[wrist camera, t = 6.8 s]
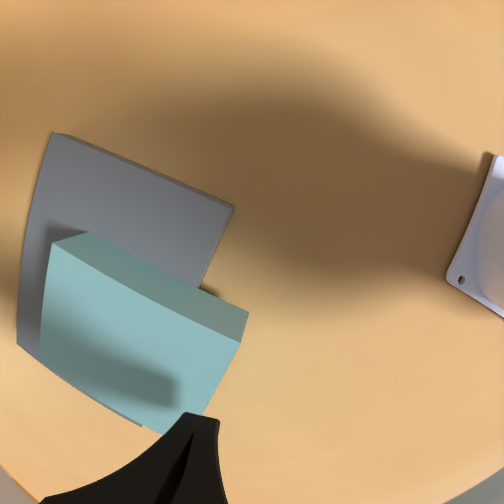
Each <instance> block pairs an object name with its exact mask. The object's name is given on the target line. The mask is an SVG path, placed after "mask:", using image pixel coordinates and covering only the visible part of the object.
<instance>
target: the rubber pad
mask: <svg viewBox="0 0 504 504" xmlns="http://www.w3.org/2000/svg"><path fill="white" fill-rule="evenodd" d="M234 208H235V206H233V205H231V204H229V203H226V202H224V201H222V200H220V199H218V198H215V197H213V196H211V195H209V194H207V193H204V192H202V191H200V190H198V189H195V188H193V187H191V186H189V185H186V184H184V183H182V182H180V181H177V180H175V179H173V178H170V177H168V176H166V175H164V174H161V173H159V172H157V171H154V170H152V169H150V168H147V167H145V166H143V165H140V164H138V163H136V162H133V161H131V160H128V159H126V158H124V157H121V156H119V155H117V154H114V153H112V152H109V151H107V150H104V149H102V148H100V147H97V146H95V145H92V144H90V143H87V142H85V141H82V140H80V139H77V138H75V137H72V136H70V135H66V134H60V133H54V132H52V135H51V138H50V141H49V144H48V147H47V150H46V153H45V156H44V159H43V163H42V166H41V170H40V173H39V177H38V181H37V184H36V188H35V192H34V197H33V201H32V205H31V210H30V215H29V220H28V225H27V230H26V236H25V242H24V248H23V255H22V263H21V271H20V281H19V292H18V308H17V344H18V345H19V346H20V347H21V348H23V349H24V350H25V351H26V352H27V353H29V354H30V355H31V356H32V357H34V358H35V359H36V360H37V361H39V362H40V363H41V364H43V365H44V366H45V367H46V368H48V369H49V370H50V371H52V372H53V373H55V374H56V375H57V376H59V377H60V378H62V379H63V380H64V381H66V382H67V383H69V384H70V385H72V386H73V387H75V388H76V389H78V390H79V391H81V392H82V393H84V394H85V395H87V396H88V397H90V398H91V399H93V400H95V401H96V402H98V403H99V404H101V405H103V406H104V407H106V408H108V409H109V410H111V411H113V412H115V413H116V414H118V415H120V416H122V417H124V418H125V419H127V420H129V421H131V422H133V423H135V424H136V425H138V426H140V427H142V424H140V423H138V422H136V421H134V420H132V419H130V418H129V417H127V416H125V415H123V414H121V413H119V412H118V411H116V410H114V409H112V408H111V407H109V406H107V405H106V404H104V403H102V402H101V401H99V400H97V399H96V398H94V397H92V396H91V395H89V394H88V393H86V392H85V391H83V390H82V389H80V388H78V387H77V386H75V385H74V384H72V383H71V382H70V381H68V380H67V379H65V378H64V377H62V376H61V375H59V374H58V373H57V372H55V371H54V370H53V369H51V368H50V367H48V366H47V365H46V364H44V363H43V362H42V361H41V360H39V347H40V329H41V317H42V307H43V298H44V290H45V282H46V276H47V269H48V263H49V257H50V252H51V247H52V243H53V242H56V241H60V240H63V239H66V238H70V237H73V236H76V235H80V234H83V233H87V232H90V233H92V234H94V235H95V236H97V237H99V238H101V239H103V240H105V241H106V242H108V243H110V244H112V245H114V246H116V247H118V248H119V249H121V250H123V251H125V252H127V253H129V254H131V255H133V256H135V257H137V258H139V259H140V260H142V261H144V262H146V263H148V264H150V265H152V266H154V267H156V268H158V269H160V270H162V271H164V272H166V273H168V274H170V275H172V276H174V277H176V278H178V279H180V280H182V281H184V282H186V283H188V284H190V285H192V286H194V287H196V288H198V289H199V288H200V285H201V283H202V281H203V278H204V276H205V274H206V271H207V269H208V267H209V264H210V262H211V260H212V257H213V255H214V253H215V251H216V248H217V246H218V244H219V241H220V239H221V237H222V235H223V232H224V230H225V228H226V226H227V223H228V221H229V219H230V217H231V214H232V212H233V210H234Z"/></svg>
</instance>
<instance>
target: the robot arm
mask: <svg viewBox="0 0 504 504" xmlns="http://www.w3.org/2000/svg"><path fill="white" fill-rule="evenodd" d="M460 276H462V279H461V281H460V282H458V279H459V277H460ZM446 280H447V282H448V283H450V284H451V285H453V286H455V287H456V288H458V289H459V290H461V291H463V292H464V293H466V294H468V295H469V296H471V297H472V298H474V299H475V300H477V301H479V302H480V303H482V304H483V305H485V306H486V307H488V308H489V309H491V310H493V311H494V312H496V313H497V314H499V315H500V316H502V317H503V318H504V157H503V156H502V155H495V156H494V157H493V159H492V163H491V166H490V169H489V172H488V175H487V178H486V181H485V184H484V187H483V190H482V192H481V195H480V198H479V200H478V203H477V206H476V208H475V211H474V213H473V216H472V218H471V220H470V223H469V225H468V228H467V230H466V232H465V234H464V237H463V239H462V241H461V243H460V246H459V248H458V250H457V252H456V254H455V256H454V258H453V260H452V262H451V264H450V266H449V268H448V270H447V273H446ZM219 427H220V421H219V420H218V419H214V418H210V417H206V416H201V415H197V414H193V413H189V412H184V413H183V414H182V415H181V416H180V418H179V419H178V420H177V421H176V422H175V423H174V425H173V426H172V427H171V428H170V429H169V430H168V431H167V432H166V433H165V434H164V435H163V436H162V437H161V438H160V439H159V440H158V441H156V442H155V443H154V444H153V445H152V446H151V447H150V448H148V449H147V450H146V451H145V452H143V453H142V454H141V455H140V456H138V457H137V458H136V459H134V460H133V461H131V462H130V463H128V464H127V465H125V466H124V467H122V468H121V469H119V470H117V471H115V472H114V473H112V474H110V475H108V476H106V477H104V478H102V479H100V480H98V481H96V482H93V483H91V484H88V485H86V486H83V487H81V488H78V489H75V490H72V491H69V492H65V493H61V494H57V495H53V496H48V497H45V498H44V499H43V500H42V501H41V502H40V503H39V504H228V502H227V498H226V495H225V491H224V487H223V482H222V477H221V472H220V466H219V456H218V433H219Z"/></svg>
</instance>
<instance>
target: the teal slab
mask: <svg viewBox="0 0 504 504" xmlns="http://www.w3.org/2000/svg"><path fill="white" fill-rule="evenodd" d="M248 314H249V312H248V311H245V310H243V309H241V308H239V307H237V306H235V305H232V304H230V303H228V302H226V301H224V300H222V299H219V298H217V297H215V296H213V295H211V294H209V293H207V292H205V291H203V290H201V289H198V288H196V287H194V286H192V285H190V284H188V283H186V282H184V281H182V280H180V279H178V278H176V277H174V276H172V275H170V274H168V273H166V272H164V271H162V270H160V269H158V268H156V267H154V266H152V265H150V264H148V263H146V262H144V261H142V260H140V259H139V258H137V257H135V256H133V255H131V254H129V253H127V252H125V251H123V250H121V249H119V248H118V247H116V246H114V245H112V244H110V243H108V242H106V241H105V240H103V239H101V238H99V237H97V236H95V235H94V234H92V233H90V232H87V233H83V234H80V235H76V236H73V237H70V238H66V239H63V240H60V241H56V242H53V243H52V247H51V252H50V257H49V263H48V269H47V276H46V282H45V290H44V298H43V307H42V317H41V329H40V347H39V360H41V361H42V362H43V363H44V364H46V365H47V366H48V367H50V368H51V369H53V370H54V371H55V372H57V373H58V374H59V375H61V376H62V377H64V378H65V379H67V380H68V381H70V382H71V383H72V384H74V385H75V386H77V387H78V388H80V389H82V390H83V391H85V392H86V393H88V394H89V395H91V396H92V397H94V398H96V399H97V400H99V401H101V402H102V403H104V404H106V405H107V406H109V407H111V408H112V409H114V410H116V411H118V412H119V413H121V414H123V415H125V416H127V417H129V418H130V419H132V420H134V421H136V422H138V423H140V424H142V425H144V426H146V427H148V428H150V429H152V430H154V431H156V432H158V433H160V434H162V435H164V434H165V433H166V432H167V431H168V430H169V429H170V428H171V427H172V426H173V425H174V423H175V422H176V421H177V420H178V419H179V418H180V416H181V415H182V414H183V413H184V412H189V413H193V414H197V415H201V416H202V414H203V412H204V411H205V409H206V407H207V405H208V403H209V401H210V400H211V398H212V396H213V394H214V392H215V390H216V388H217V387H218V385H219V383H220V381H221V379H222V377H223V375H224V373H225V372H226V370H227V368H228V366H229V364H230V362H231V360H232V358H233V356H234V355H235V353H236V351H237V349H238V347H239V345H240V343H241V339H242V336H243V332H244V328H245V325H246V321H247V317H248Z"/></svg>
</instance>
